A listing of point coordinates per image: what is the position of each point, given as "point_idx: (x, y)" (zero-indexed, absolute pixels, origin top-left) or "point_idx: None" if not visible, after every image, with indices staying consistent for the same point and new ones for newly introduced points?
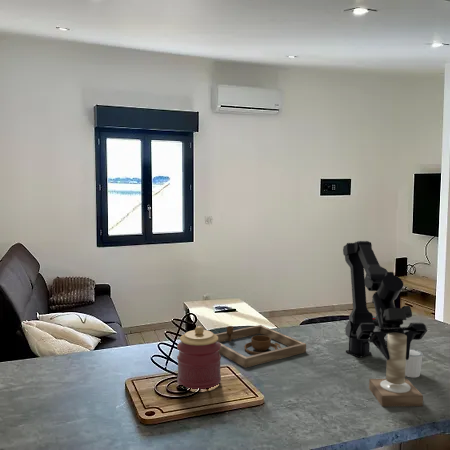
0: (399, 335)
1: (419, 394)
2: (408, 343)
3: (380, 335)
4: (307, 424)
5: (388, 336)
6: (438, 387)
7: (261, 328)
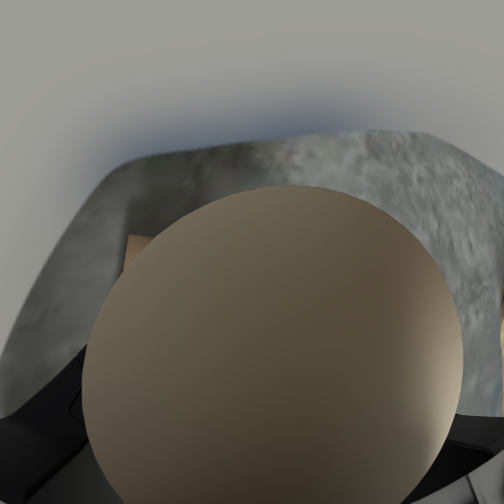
0: (273, 394)
1: (138, 245)
2: (75, 386)
3: (478, 426)
4: (457, 204)
5: (449, 370)
6: (12, 380)
7: None
